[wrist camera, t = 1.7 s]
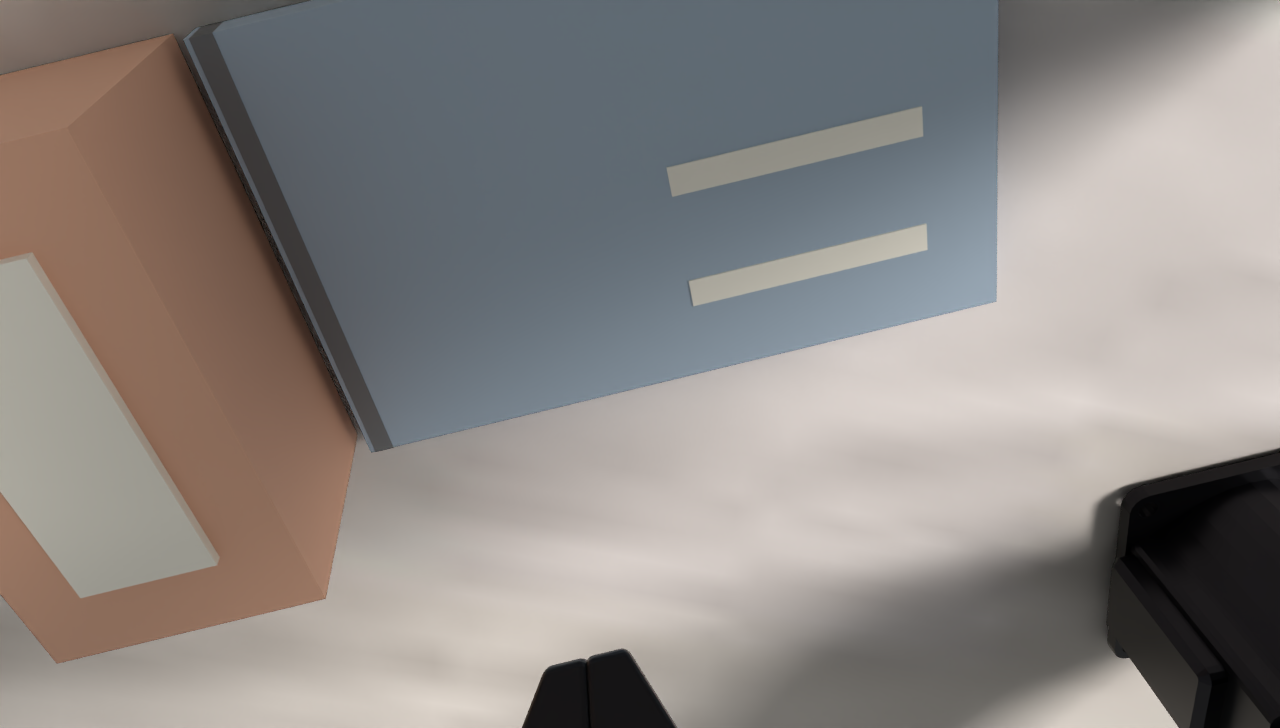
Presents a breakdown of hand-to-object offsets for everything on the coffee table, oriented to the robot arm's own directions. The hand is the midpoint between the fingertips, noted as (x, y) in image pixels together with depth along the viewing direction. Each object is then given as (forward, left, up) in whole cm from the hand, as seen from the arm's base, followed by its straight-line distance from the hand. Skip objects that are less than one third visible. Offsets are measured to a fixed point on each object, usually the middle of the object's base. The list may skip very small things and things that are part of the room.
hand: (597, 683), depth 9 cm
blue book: (-2, 0, -12) cm, 12 cm away
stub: (+8, 0, -12) cm, 14 cm away
